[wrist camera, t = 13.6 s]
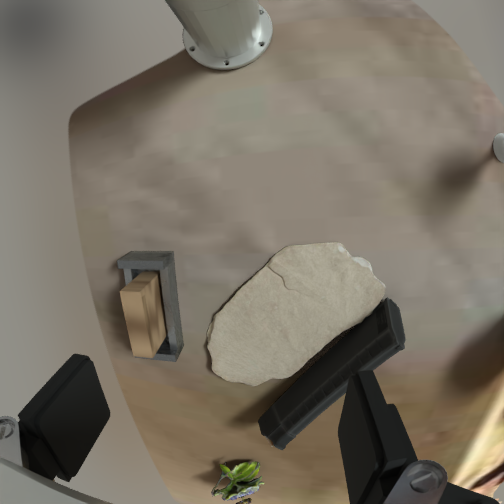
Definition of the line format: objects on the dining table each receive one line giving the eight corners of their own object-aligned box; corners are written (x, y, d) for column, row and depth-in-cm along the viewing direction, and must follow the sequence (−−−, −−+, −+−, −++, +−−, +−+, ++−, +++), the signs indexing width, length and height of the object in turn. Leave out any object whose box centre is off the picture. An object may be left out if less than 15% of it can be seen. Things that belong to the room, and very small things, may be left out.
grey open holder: (131, 251, 45) (117, 260, 41) (173, 251, 45) (162, 261, 40) (145, 342, 49) (134, 357, 45) (183, 345, 49) (175, 361, 44)
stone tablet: (390, 290, 45) (395, 296, 42) (250, 394, 51) (249, 403, 49) (325, 209, 42) (327, 211, 40) (180, 334, 49) (176, 341, 47)
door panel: (142, 271, 45) (119, 291, 37) (161, 271, 45) (140, 291, 37) (151, 329, 48) (133, 356, 40) (169, 330, 48) (153, 358, 40)
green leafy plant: (248, 460, 64) (231, 500, 56) (213, 446, 60) (194, 489, 53) (279, 468, 56) (261, 513, 48) (242, 455, 52) (221, 504, 45)
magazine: (418, 305, 35) (271, 476, 34) (431, 319, 36) (288, 483, 34) (361, 287, 52) (255, 416, 51) (373, 297, 53) (269, 424, 51)
